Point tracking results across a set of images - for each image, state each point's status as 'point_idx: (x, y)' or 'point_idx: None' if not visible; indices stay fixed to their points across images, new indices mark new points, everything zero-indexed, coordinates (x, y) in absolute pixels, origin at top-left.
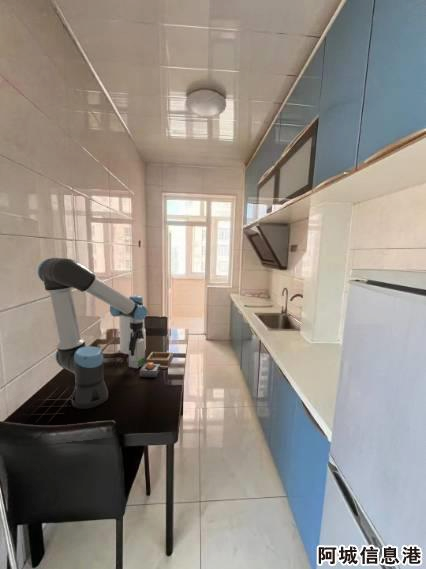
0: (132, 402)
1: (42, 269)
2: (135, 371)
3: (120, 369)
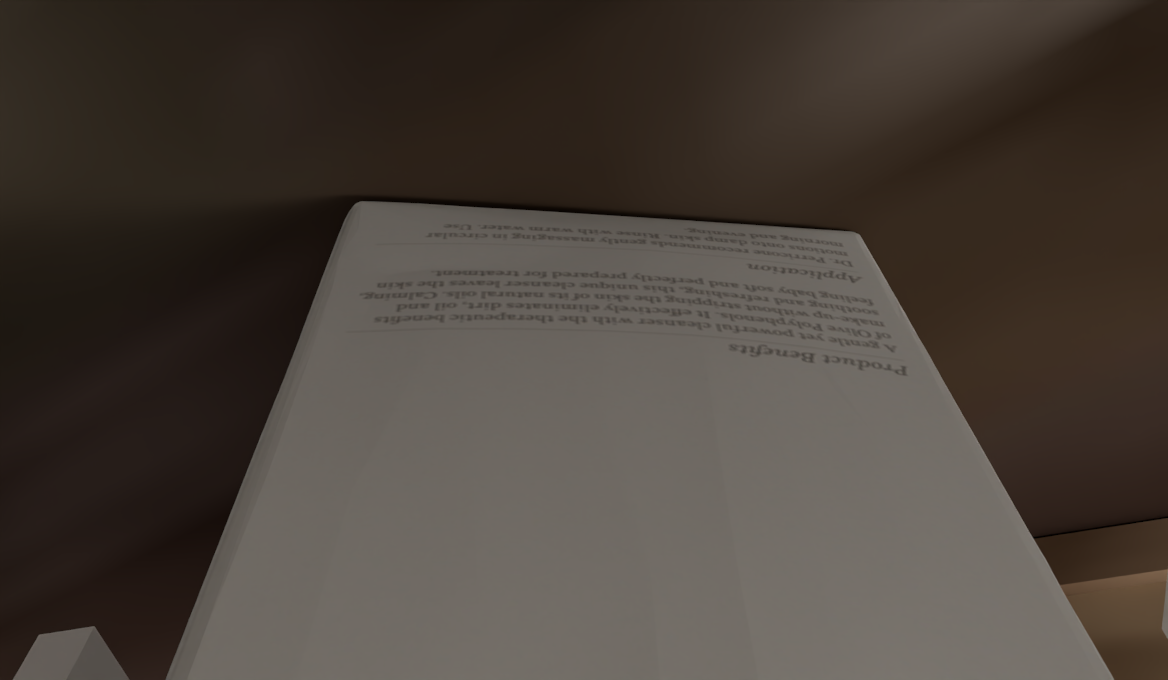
0: None
1: None
2: (176, 534)
3: (21, 16)
